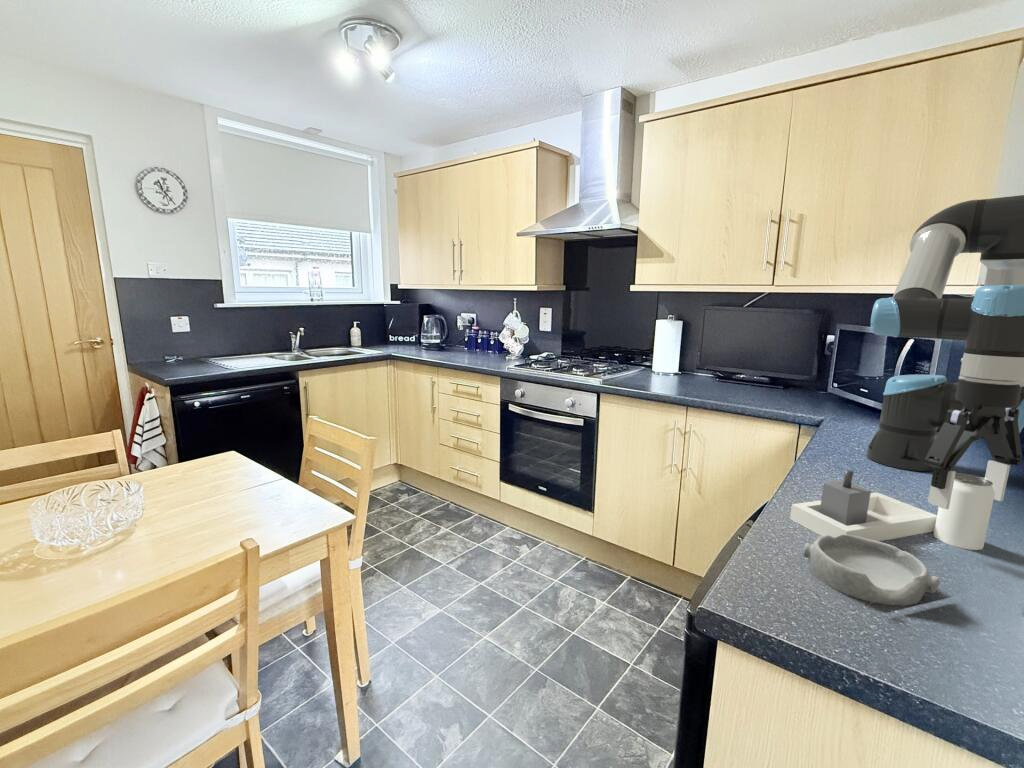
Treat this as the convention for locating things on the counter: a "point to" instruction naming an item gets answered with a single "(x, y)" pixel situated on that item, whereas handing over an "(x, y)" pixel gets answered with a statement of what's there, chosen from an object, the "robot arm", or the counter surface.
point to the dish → (869, 570)
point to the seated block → (845, 501)
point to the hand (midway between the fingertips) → (965, 502)
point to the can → (966, 513)
